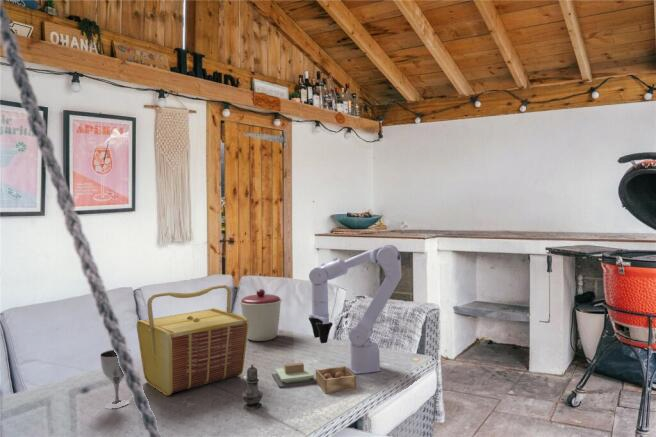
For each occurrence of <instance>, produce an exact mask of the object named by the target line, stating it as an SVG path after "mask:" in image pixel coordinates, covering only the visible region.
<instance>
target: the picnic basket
mask: <svg viewBox="0 0 656 437" xmlns="http://www.w3.org/2000/svg"><path fill="white" fill-rule="evenodd" d="M217 289H226V292H227V294H226V295H227V297H226V310H223V309H220V308H216V307H212V308H210V309H209V308H208V309H204V310H197V311H191V312H185V313H180V314H173V315H169V316H168V315H167V316H162V317H156V318H154V314H153V306H152V305H153V304H152V303H153V300H154V299H156V298H159V297H165V296H166V297H168V296H169V297H173V298H176V299H177V298H178V299H179V298H180V299H188V298H195V297H196V298H197V297H201V296H202V295H206V294H208V293H210V292H211V291H213V290H217ZM231 302H232V290H231V287H230V286H228V285H226V284H221V285H215V286H210V287H207V288H203V289H201V290H199V291H198V290H197V291H193V292H186V293H185V292H184V293H183V292H170V291H169V292H159V293H154V294H152V295H151V296H150V297H149V298H148V299H147V303H146V306H147V315H148V319H139V320H137V322H136V333H137V339H138V346H139V352H140V357H141V365H142V373H143V376H144V379H145V381H146V383H147V384H148V385H149V386H151V387H153V389H155V388H156V389H155V390H157V391H158V392H160V393H161V392H162V393H161V394H163V395H164V396H170V395H172V394H173V393H177V392H182V391H185V390H189V389H192V388H196V387H200V386H203V385H207V384H210V383H214V382H217V381H221V380H225V379H228V378H229V379H230V378H232V377H233V378H234V377H240V376H242V374H243V373H244V372H243V371H244V366H245V357H246V350H247V342H248V338H247V335H248V320H247V319H246V318H245V317H244V316H243V315H240V314H237V313H232V312H231Z"/></svg>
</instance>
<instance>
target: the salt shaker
mask: <svg viewBox="0 0 656 437" xmlns="http://www.w3.org/2000/svg"><path fill="white" fill-rule="evenodd" d="M246 378H247V379H246V380H245V382H246V387H247V388H246V390H245V391H244V392H243V393H241V394H242V395H241V396H242V397H243V401H244V402H245V404H244V405H243V409H244V410H247V411H255V410H259V409H261V408H262V407H263V403H262V402H261V401H262V398H263V396H264V392H263V391H262V390H259V381H260V380H259V378H258V368H257V367H255V366H254V364H250V367H248V368H247V370H246Z"/></svg>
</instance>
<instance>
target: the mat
mask: <svg viewBox="0 0 656 437" xmlns="http://www.w3.org/2000/svg"><path fill="white" fill-rule="evenodd" d="M271 376H272V378H273V380H274V382H275V383H276V385H277V386H278V388H279V389H284V388H291V387H299V386H306V385H311V384H312V385H313V384H317V381H316V378H315V377H314V378H310V380H307V381H299V382H291V383H284V382H282V381H281V379H280V378H279V376H278V375H277V373H276V372H275V373H271Z"/></svg>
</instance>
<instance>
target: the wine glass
mask: <svg viewBox="0 0 656 437" xmlns="http://www.w3.org/2000/svg"><path fill="white" fill-rule="evenodd" d="M128 350H129V351H130V352H131V349H128ZM100 365H101V370H102V373H103V375H104V376H105V377H106V378H107V379H108V380H109V381H111V383H112V384H113V387H114V388H113V389H114V393H115V394H114V395H115V397H114V398H115V399H114V400H115V401H113V400H112V401H113V402H112V404H117V403H120V402H121V401H122V400H119V399H120V398H119V388H120V384H121V381H122V379H124V377H125V376H124V374H123V372H122V370H121V368H120V366H119V363H118V358H117V355H116V353H115V352H114V349H109V350H106V351H103V352H102V353H100Z"/></svg>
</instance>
